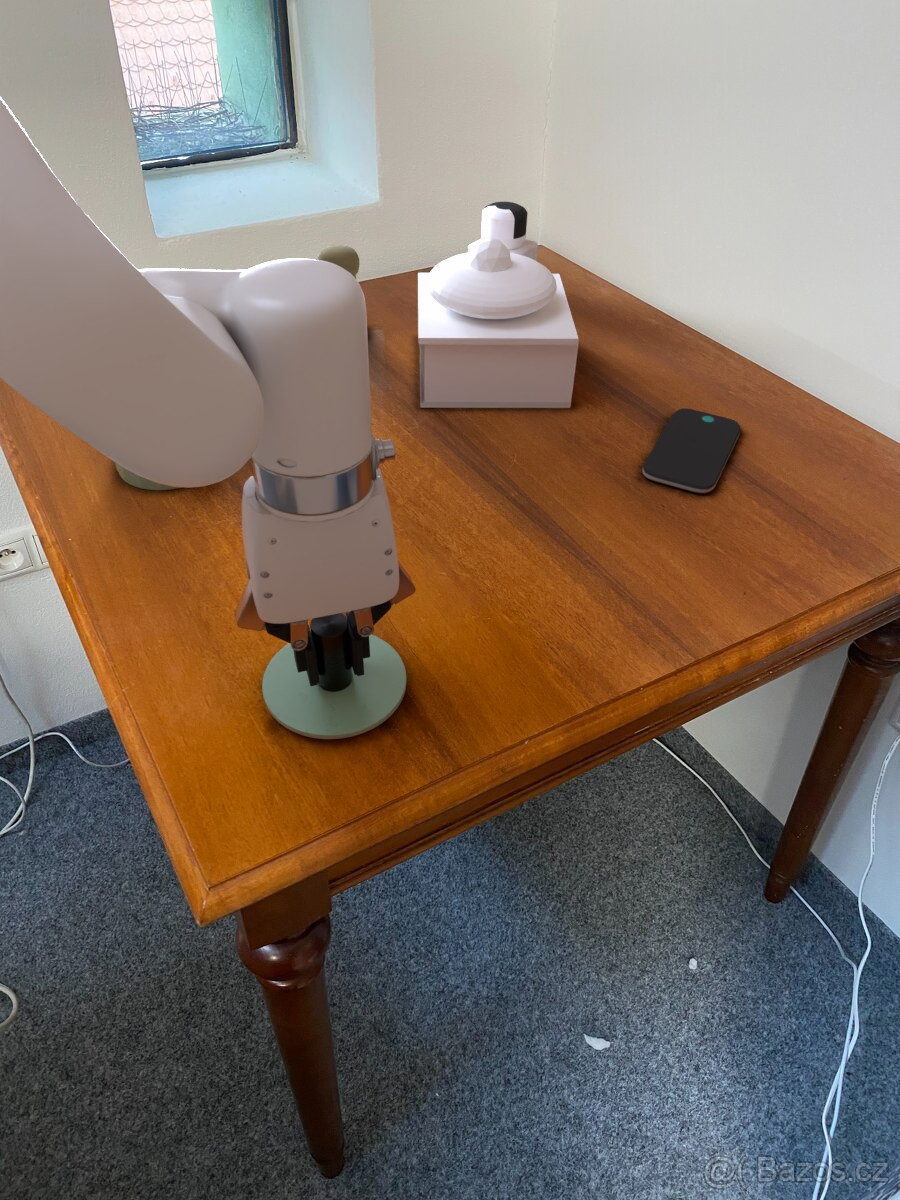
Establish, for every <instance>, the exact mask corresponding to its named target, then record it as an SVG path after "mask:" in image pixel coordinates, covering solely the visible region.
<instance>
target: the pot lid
mask: <svg viewBox="0 0 900 1200" xmlns="http://www.w3.org/2000/svg"><path fill="white" fill-rule="evenodd" d="M309 628H310V631H311V636H312V638H313V642H314V645H315V649H316V656H317V664H318V673H319V682H320V683H317V685H315V686H310V683H309V679H308V675H307V672H306V671H303V672H299V673H298V670H297V667H296V662H295V657H294V650H293V649H292V647H291V644H290V643H288V642H287V644H286V645H284V646H283V647H281V648H280V649H279V650H278V651H277V652H276V653H275V655H274V656H273V657H272V658H271V659H270V660H269V662H268V664H267V666H266V668H265V670H264V673H263V677H262V681H261V685H262V686H261V691H262V697H263V701H264V704H265V707H266V709H267V710H268V712H269V713H270V714H271V716H272V717H273V719H275V721H277V722H278V723H279V724H280V725H281V726H283V727H284V728H286V729H287V730H289V731H291V732H293V733H295V734H298V735H300V736H304V737H308V738H312V739H319V740H339V739H346V738H352V737H355V736H358V735H362V734H364V733H367V732H369V731H372V730H373V729H375V728H377V727H379V726H380V725H381V724H383V723H384V722H386V721H387V720H388V719H389V718H390V717H391V716H392V715H393V714H394V713H395V712H396V711H397V709H398V708H399V706H400V705H401V703H402V702H403V699H404V696H405V694H406V689H407V669H406V667H405V663H404V661H403V659H402V657H401V656H400V654H399V653H398V651H397V650H395V648H394V647H393V646H392V645H390V644H389V643H388V642H386V641H385V640H383V639H382V638H380V637H379V636H376V635H374V634H373V633H372V634H371V635H370V636H369V644H370V657H369V658H365V659H363V661H364V675H361V676H357V675H354V672H353V669H352V663H351V650H350V637H349V624H348V619H347V618H346V614H343V613H338V614H333V615H328V616H323V617H318V618H313V619H310V624H309Z"/></svg>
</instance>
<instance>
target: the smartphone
mask: <svg viewBox="0 0 900 1200" xmlns="http://www.w3.org/2000/svg"><path fill="white" fill-rule="evenodd" d="M741 430H742V427H741V425H740V424H739V422H738V421H736V420H735V419H732V418H729V417H725V416H721V415H717V414H713V413H709V412H705V411H702V410H701V411H700V410H697V409H692V408H679V409H678V410H676V411H674V412H673V414H672V415H671V417H670V419H669V421H668V422H667V424H666V425H665V427H664V428H663V431H662V432H661V434H660V435H659V437H658V438H657V441H656V442H655V444H654V445H653V447H652V449H651V450H650V453H649V454H648V456H647V457H646V459H645V461H644V462H643V466H642V474H643V476H644V477H645V478H646V479H648V480H650V481H652V482H654V483H658V484H662V485H666V486H668V487H672V488H676V489H679V490H683V491H686V492H689V493H695V494H703V495H704V494H708V493H710V492H711V491H713V490H714V489H715V487H716V485H717V484H718V481H719V479H720V478H721V475H722V473H723V470H724V469H725V466H726V464H727V462H728V460H729V458H730V456H731V454H732V452H733V449H734V447H735V445H736V444H737V440H738V439H739V437H740V434H741Z"/></svg>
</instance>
